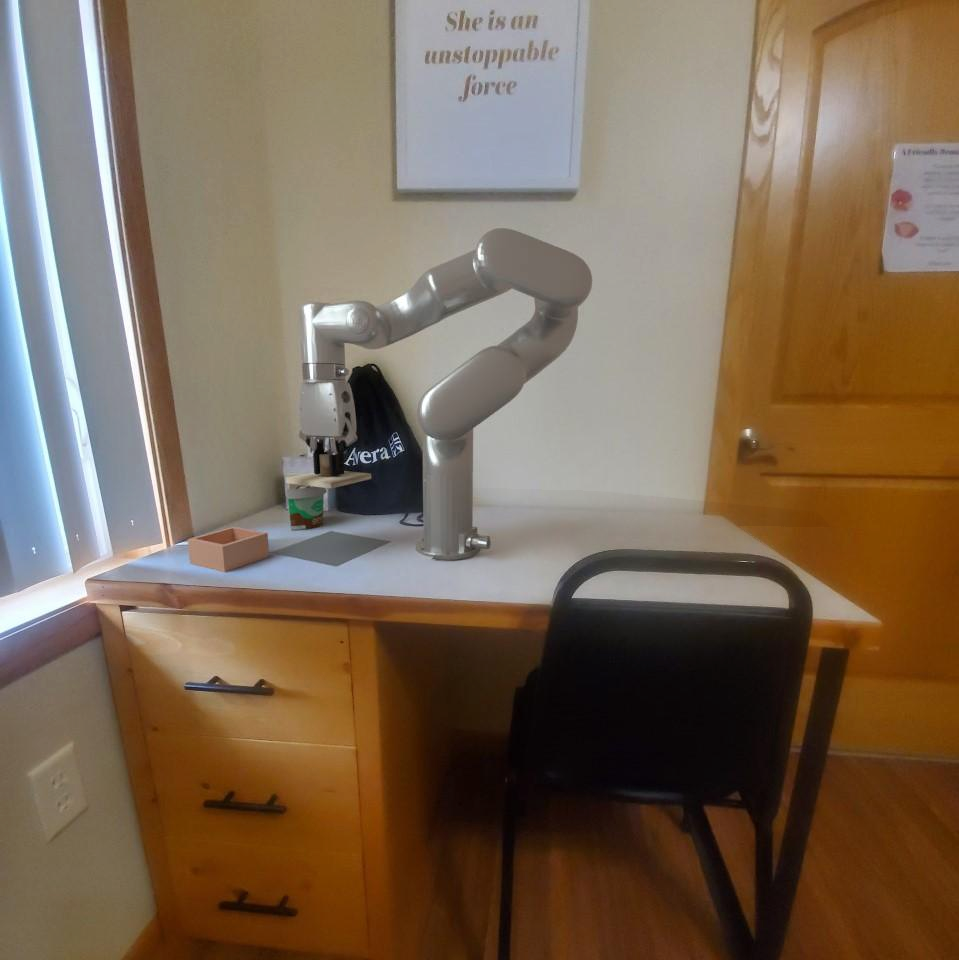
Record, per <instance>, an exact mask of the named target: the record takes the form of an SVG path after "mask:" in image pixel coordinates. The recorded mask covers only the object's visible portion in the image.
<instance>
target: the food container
mask: <svg viewBox="0 0 959 960" xmlns="http://www.w3.org/2000/svg"><path fill="white" fill-rule="evenodd" d="M326 493H328V492H327V488H323V487H315V486H306V485H303V486H298V487H297V488H296V489H288V488H286V500H287V505H288V504H289V513H290V518H289V520H290V530H291V531H292V532H293V531H295V532H296V531H307V530H313V529H316V528H319V527H321V526H323V524H324V501H325V499H324V498H325V497H324V495H325V494H326Z"/></svg>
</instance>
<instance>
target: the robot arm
mask: <svg viewBox="0 0 959 960" xmlns="http://www.w3.org/2000/svg"><path fill="white" fill-rule="evenodd" d="M592 275H593V274H592V271H591V269H590V266H589V265H588V264H587V262H586V261H585V260H584V259H583V258H581V257H580V256H579V255H578V254H575V253H574V252H571V251H569V250H567V249H563V248H561V247H560V246H559V247H558V246H556V245H553V244H551V243H549V242H546V241H544V240H541V239H538V238H536V237H534V236H532V235H529V234H526V233H523V232H521V231H517V230H514V229H512V228H506V227H498V228H497V227H496V228H493V229H491V230H489V231H487V232H486V233H484V234H483V235H482V236H481V237H480V239H479V240H478V243H477V244H476V247H475V249H473V250H471V251H469V252H466V253H464V254H462V255H460V256H457V257H455V258H452V259H450V260H447V261H446V262H444V263H443V262H442V263H440V264H439V265H436V266H434V267H431V268H429V269H427V270H426V271H425V272H423V273H422V275H420V277H419V278H418V279H417V280H416V282H415V283H414V284H413V286H411V287H410V289H408V290H407V291H406V292H404V293H403V294H400V296H397V297H396V298H394V299H392V300H390V301H387V302H385V303H382V304H379V305H378V306H375V305H374V304H373V303H370V302H369V301H366V300H350V301H343V302H337V303H336V302H335V303H329V302H319V301H318V302H316V301H315V302H314V301H313V302H312V301H311V302H307V303H304V304H302V305H301V306H300V308H299V311H298V313H299V314H298V316H299V334H300V335H299V336H300V350H301V351H300V352H301V367H302V368H301V369H302V371H301V372H302V382H301V386H300V393H299V394H300V395H299V426H300V427H299V428H300V431H299V434H298V437H299V438H300V440H302V441H303V442H305V444H306V445H307V446H308V447H309V452H310V453H311V454H312V456H313V459H312V461H313V472H314V474H317V475H318V474H320V456H319V455H320V454H329V453H328V451H326V438H329V443H330V452H331V454H332V455H329V465H330V475H331V476H337V475H342V474H344V471H345V461H344V459H345V458H344V456H345V455H344V454H346V453H347V450H348V449H349V447H350V446H351V445H352V444H353V443H355V442H356V441H358V436H357V415H356V406H355V401H354V395H353V391H352V387H351V385H350V382H347V376H349V373H350V371H349V369H348V367H347V368H346V349H345V344H348V345H349V344H350V345H355V346H357V347H361V348H364V349H367V350H380V349H382V348H385V347H387V346H391V345H393V344H395V343H398V342H399V341H402V340H405V339H407V338H409V337H412V336H414V335H416V334H417V333H419V332H421V331H423V330H425V329H427V328H429V327H431V326H435V325H436V324H438V323H440V322H441V321H443V320H445V319H447V318H449V317H452V316H453V315H456V314H458V313H461V312H463V311H465V310H467V309H470V308H472V307H474V306H477V305H479V304H481V303H485V302H487V301H489V300H491V299H493V298H494V299H495V298H496V297H498V296H501V295H502V294H504V293H507V292H509V291H510V290H515V291H517V292H520V293H522V294H525V295H526V296H529V297H532V298H534V307H535V308H534V312H533V315H532V317H531V318H530V320H529V321H527V322H526V323H525V324H524V325H522V326H521V327H519V328H518V329H517V330H515V332H514V333H512V334H511V335H510V336H508V337H507V338H505V339H504V340H502V341H501V342H499V343H498V344H497V345H490V346H488V347H485V348H483V349H482V350H480V351H478V352H477V353H475V354H474V355H472V356H471V357H470V358H469V359H467V360H466V361H465V362H464V363H462V364H461V365H459V366H458V367H456V368H455V369H454V370H453V371H452V372H450V373H449V374H447V375H446V376H445V377H444V378H442V379H441V380H440V381H438V382H437V383H435V384H434V385H432V386H431V387H430V388H429V389H428V390H427V391H425V392H424V393H423V395H422V396H421V398H420V400H419V402H418V404H417V409H416V410H417V411H416V417H417V422H418V424H419V425H418V426H420V428H421V430H422V506H423V508H422V509H423V510H422V511H423V513H422V516H423V517H422V519H423V522H422V523H423V527H422V528H423V538H422V539H420V540H418V541H417V542H416V543H415V552H417V553H418V554H420V555H422V556H425V557H430V558H431V559H432V560H440V561H451V560H452V561H455V560H462V559H467V558H471V557H473V556H475V555H477V554H479V552H480V551H481V549H482V550H489V549H490V548H491V539H490V536H488V535H480V534H479V533H478V527H477V526H473V523H474V522H473V517H474V515H473V511H474V510H473V509H474V508H473V500H474V498H473V497H474V496H473V492H474V490H473V488H474V484H473V483H474V480H473V479H474V428H476V427H477V426H478V425H480V424H482V423H483V422H485V420H487V419H488V418H489V417H491V416H493V414H495V413H497V411H499V410H501V409H502V408H503V407H505V406H506V405H507V404H509V403H510V402H512V400H514V399H515V398H516V397H517V396H518V395H519V394H520V393H521V391H522V389H523V387H524V385H525V384H526V383H528V382H529V381H530V380H532V379H533V378H535V376H537V375H539V373H541V372H542V371H543V370H544V369H545V368H547V367H548V366H550V365H551V364H552V363H553V362H555V361H556V360H558V358H559V357H560V356H561V355H562V354H564V353H565V351H566V350H567V348H569V346H570V344H572V340H573V339H574V336H575V334H576V330H577V327H578V319H579V307H580V306H582V304H583V303H584V302H585V301H586V300H587V299H588V297H589V295H590V293H591V291H592V286H593V276H592Z"/></svg>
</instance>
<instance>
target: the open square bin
mask: <svg viewBox="0 0 959 960" xmlns="http://www.w3.org/2000/svg"><path fill="white" fill-rule="evenodd" d="M187 547H188V557H189V564H190V565H194V566H196V567H197V566H198V567H202V568H205V569H210V570H215V571H217V572H222V573H227V572H230V571H232V570H235V569H238V568H240V567H243V566H247V565H249V564H252V563H255V562H257V561H260V560H263V559H266V558H269V557H270V549H269V548H270V546H269V534H268V532H265V531H264V532H263V531H259V530H256V529H249V528H244V527H243V528H242V527H238V526H232V527H228V528H227V527H226V528H224V529H220V530H216V531H213V532H209V533H206V534H202V535H198V536H194V537H191V538H187Z"/></svg>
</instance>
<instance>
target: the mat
mask: <svg viewBox="0 0 959 960" xmlns="http://www.w3.org/2000/svg"><path fill="white" fill-rule="evenodd" d="M389 543H392V541H390V540H386V539H385V540H384V539H380V538H374V537H368V536H362V535H355V534H350V533H346V532H345V533H344V532H338V531H332V530H329V531H327V532H324V533H321V534H318V535H315V536H312V537H310V538H307V539H304V540H301V541H298V542H296V543H292V544H290V545H288V546H284V547H282V548H279V549H275V550H273V551H271V552H270V551H269V554H270V553H271V554H275V555H279V556H283V557H284V556H285V557H289V558H294V559H298V560H303V561H309V562H313V563H319V564H323V565H326V566H327V565H328V566H332V567H339V566H341V565H342V564H345V563H347V562H350V561H352V560H354V559H356V558H358V557H360V556H362V555H365V554H367V553H370V552H372V551H374V550H376V549H379V548H381V547H383V546H385V545H387V544H389Z"/></svg>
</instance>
